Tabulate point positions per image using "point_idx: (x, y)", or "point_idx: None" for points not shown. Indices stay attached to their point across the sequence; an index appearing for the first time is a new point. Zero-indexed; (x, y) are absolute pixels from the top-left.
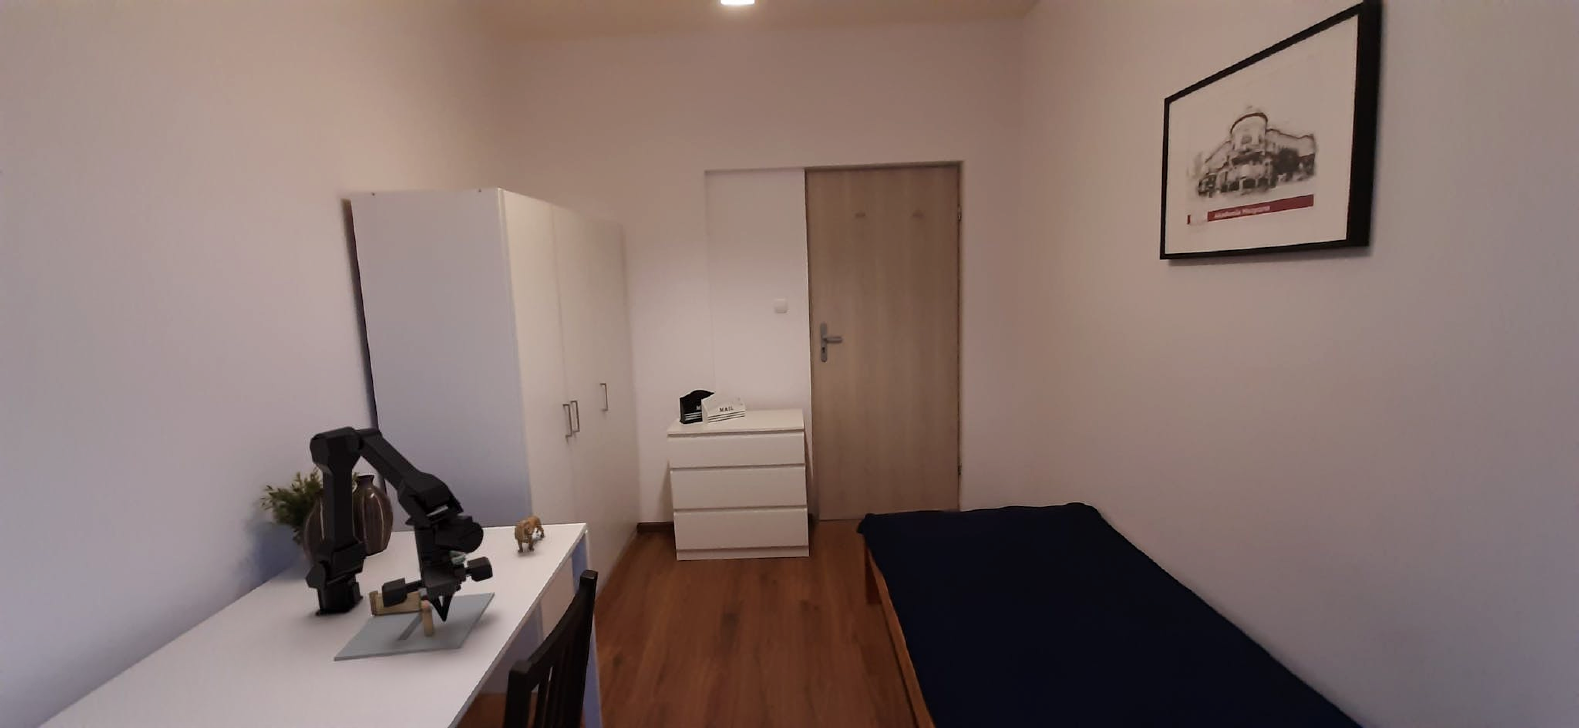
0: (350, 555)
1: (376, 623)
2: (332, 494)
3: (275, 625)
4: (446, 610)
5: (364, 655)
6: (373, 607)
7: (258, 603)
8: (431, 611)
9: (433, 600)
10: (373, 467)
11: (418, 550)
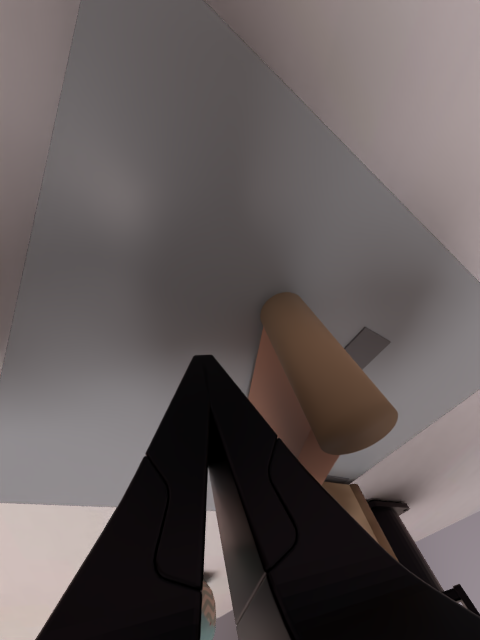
0: None
1: (366, 454)
2: None
3: (451, 494)
4: (184, 413)
5: None
6: (369, 510)
7: (420, 533)
8: (327, 424)
9: (383, 614)
10: None
11: None
